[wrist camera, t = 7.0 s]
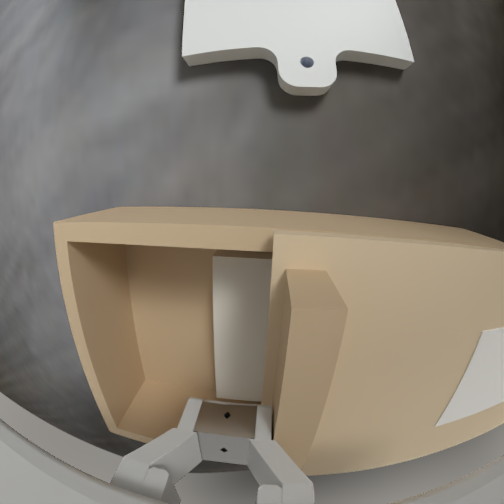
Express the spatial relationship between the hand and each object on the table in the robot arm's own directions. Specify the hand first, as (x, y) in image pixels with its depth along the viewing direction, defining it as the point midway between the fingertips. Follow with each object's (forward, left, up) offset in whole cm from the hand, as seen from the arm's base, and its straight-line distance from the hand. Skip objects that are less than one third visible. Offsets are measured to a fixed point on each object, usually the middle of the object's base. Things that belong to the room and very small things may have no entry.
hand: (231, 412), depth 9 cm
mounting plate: (-2, -22, -9) cm, 24 cm away
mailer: (-3, 0, -8) cm, 8 cm away
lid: (-12, 0, -2) cm, 13 cm away
